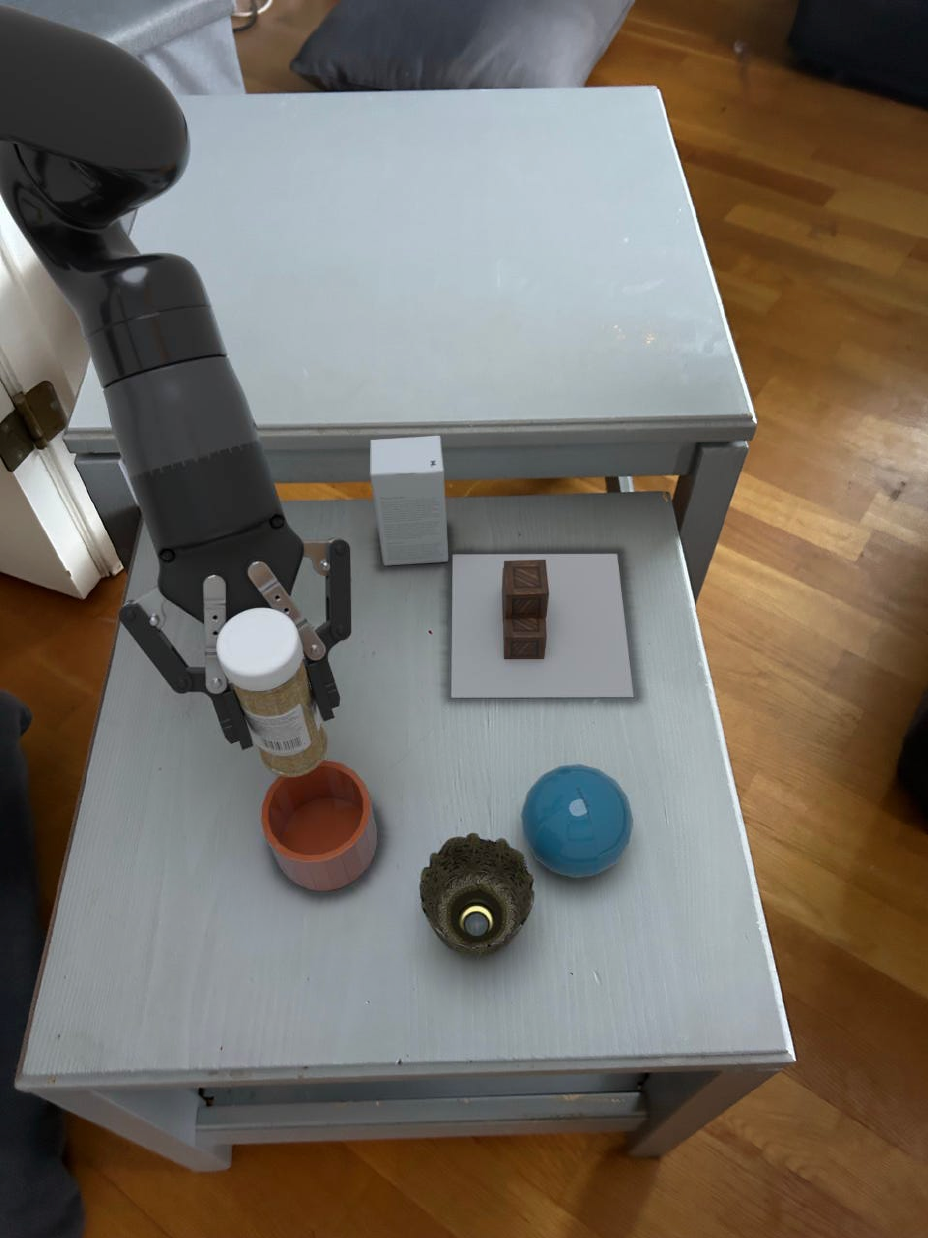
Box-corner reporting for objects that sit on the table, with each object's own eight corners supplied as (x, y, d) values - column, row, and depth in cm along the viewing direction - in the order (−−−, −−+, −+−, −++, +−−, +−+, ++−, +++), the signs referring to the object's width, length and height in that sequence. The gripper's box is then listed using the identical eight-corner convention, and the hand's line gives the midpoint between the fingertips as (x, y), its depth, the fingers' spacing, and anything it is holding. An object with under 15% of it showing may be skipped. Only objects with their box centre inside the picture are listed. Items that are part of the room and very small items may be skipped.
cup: (412, 963, 66) (405, 929, 59) (438, 863, 70) (435, 821, 63) (516, 990, 65) (521, 958, 58) (537, 887, 69) (544, 846, 62)
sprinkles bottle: (337, 727, 64) (310, 614, 53) (314, 787, 61) (280, 682, 50) (274, 711, 64) (233, 597, 53) (248, 771, 62) (200, 663, 51)
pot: (292, 907, 68) (278, 878, 63) (264, 815, 72) (248, 782, 67) (391, 868, 70) (385, 837, 65) (358, 780, 74) (350, 745, 69)
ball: (601, 779, 74) (613, 731, 67) (642, 875, 69) (660, 833, 63) (503, 808, 72) (506, 762, 66) (539, 908, 68) (547, 869, 61)
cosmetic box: (446, 527, 88) (442, 433, 78) (448, 563, 86) (445, 471, 76) (381, 530, 88) (369, 437, 78) (381, 567, 86) (369, 475, 76)
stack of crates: (633, 697, 78) (646, 652, 72) (451, 697, 78) (449, 653, 72) (617, 554, 86) (627, 504, 81) (452, 554, 86) (451, 504, 81)
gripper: (55, 490, 48) (169, 793, 52) (323, 414, 51) (412, 705, 55) (73, 489, 55) (172, 755, 59) (308, 422, 58) (388, 679, 62)
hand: (288, 729), depth 57 cm, fingers closed on sprinkles bottle, 4 cm apart
